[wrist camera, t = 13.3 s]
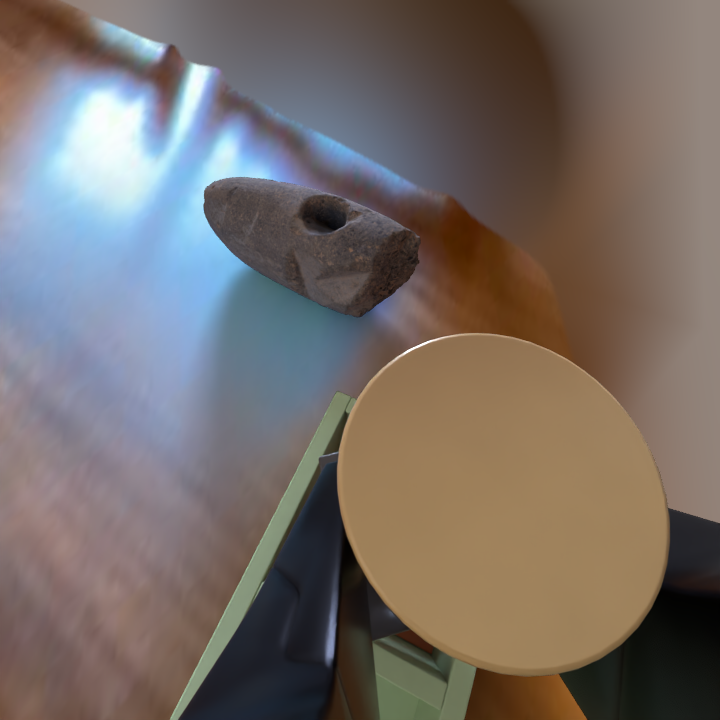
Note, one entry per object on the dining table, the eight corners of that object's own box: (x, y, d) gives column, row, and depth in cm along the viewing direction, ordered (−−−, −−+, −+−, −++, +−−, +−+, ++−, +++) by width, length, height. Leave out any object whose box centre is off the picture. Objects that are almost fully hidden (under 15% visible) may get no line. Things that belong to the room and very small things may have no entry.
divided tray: (494, 482, 19) (525, 469, 16) (363, 965, 12) (364, 1145, 9) (341, 415, 21) (336, 390, 17) (150, 808, 14) (76, 902, 10)
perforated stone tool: (200, 260, 27) (150, 174, 20) (245, 215, 29) (212, 125, 22) (379, 351, 23) (385, 281, 17) (416, 293, 25) (434, 211, 19)
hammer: (462, 593, 13) (1143, 952, 2) (356, 625, 13) (288, 1396, 1) (415, 447, 16) (563, 181, 4) (325, 471, 15) (204, 249, 4)
